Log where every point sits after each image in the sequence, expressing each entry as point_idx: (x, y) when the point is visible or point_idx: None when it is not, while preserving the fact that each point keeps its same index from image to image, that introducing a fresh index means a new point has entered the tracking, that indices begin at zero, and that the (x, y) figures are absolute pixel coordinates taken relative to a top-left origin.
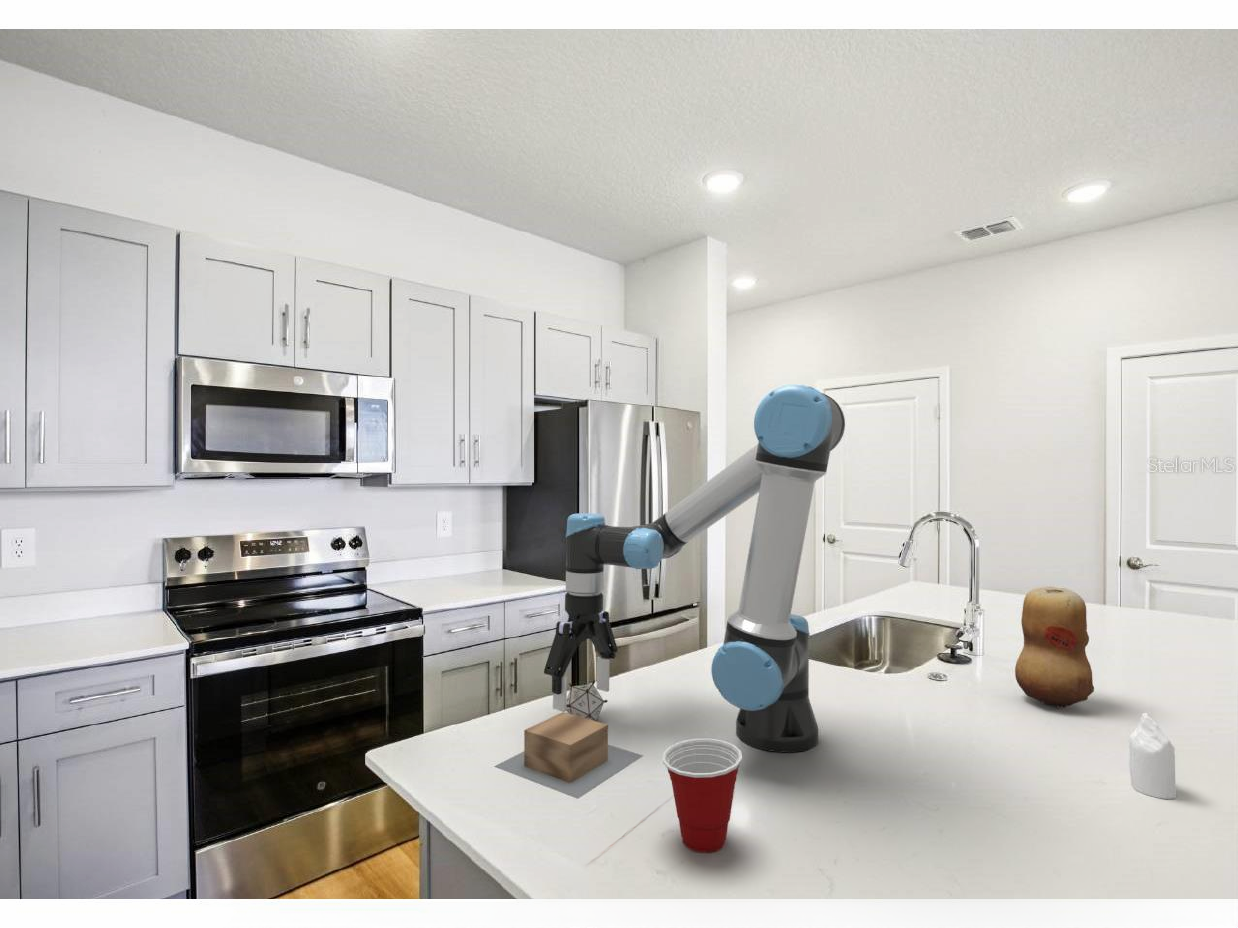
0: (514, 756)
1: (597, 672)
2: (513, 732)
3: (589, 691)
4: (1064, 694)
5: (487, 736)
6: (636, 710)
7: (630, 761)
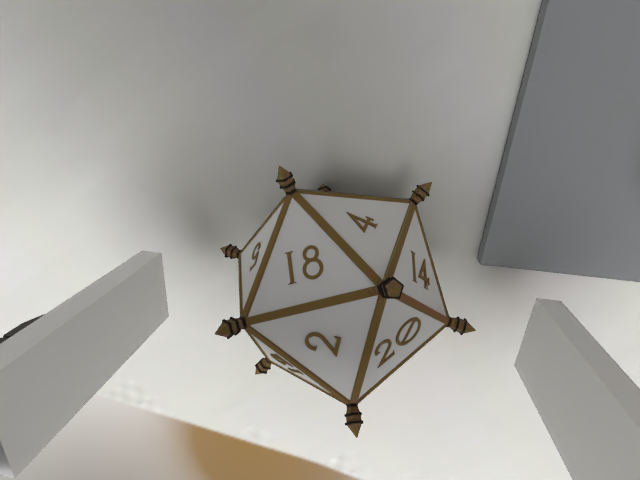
0: None
1: (108, 374)
2: None
3: (357, 282)
4: None
5: None
6: (93, 128)
7: None
